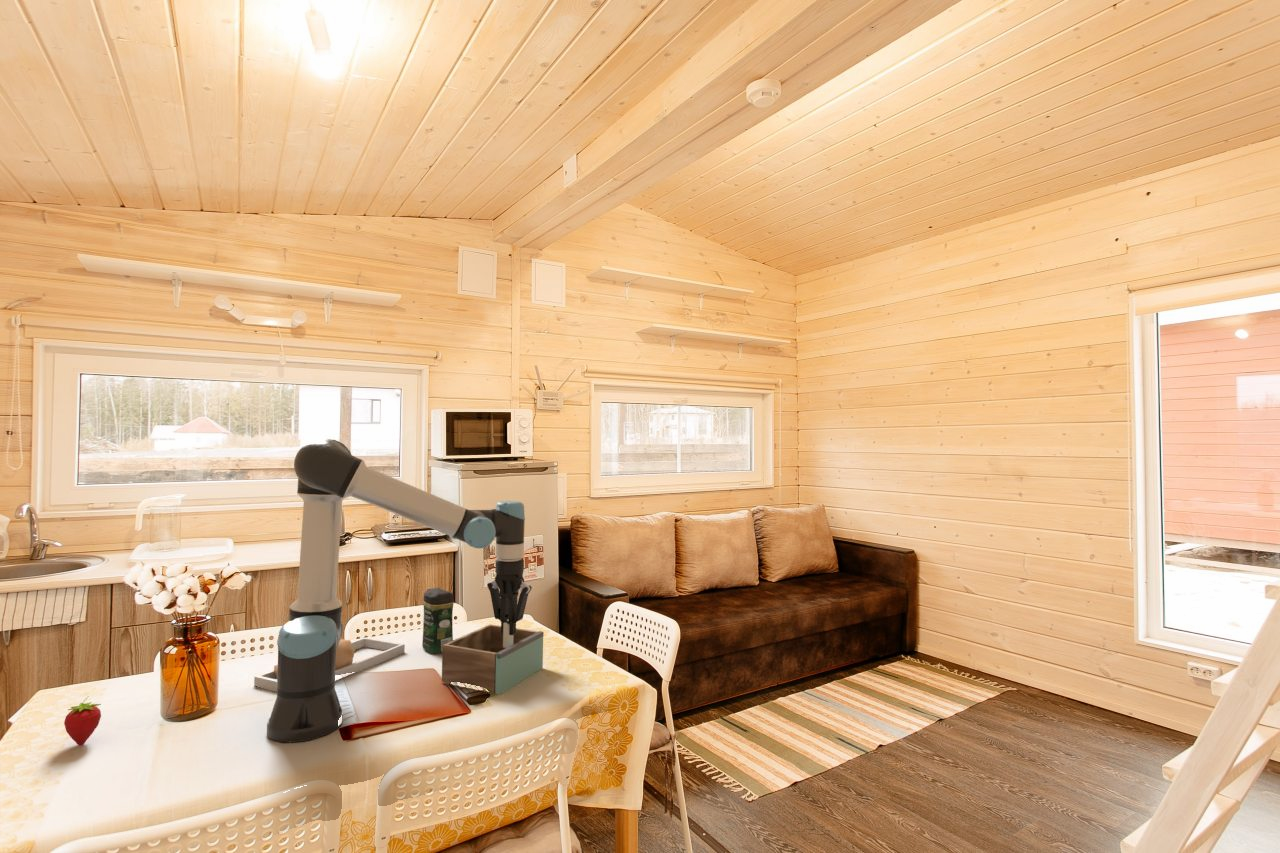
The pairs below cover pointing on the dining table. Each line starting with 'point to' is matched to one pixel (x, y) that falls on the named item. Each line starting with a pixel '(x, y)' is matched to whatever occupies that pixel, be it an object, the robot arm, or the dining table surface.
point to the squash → (339, 655)
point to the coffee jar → (437, 619)
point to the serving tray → (391, 651)
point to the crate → (476, 656)
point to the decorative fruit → (82, 721)
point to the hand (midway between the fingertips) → (508, 646)
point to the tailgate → (518, 662)
